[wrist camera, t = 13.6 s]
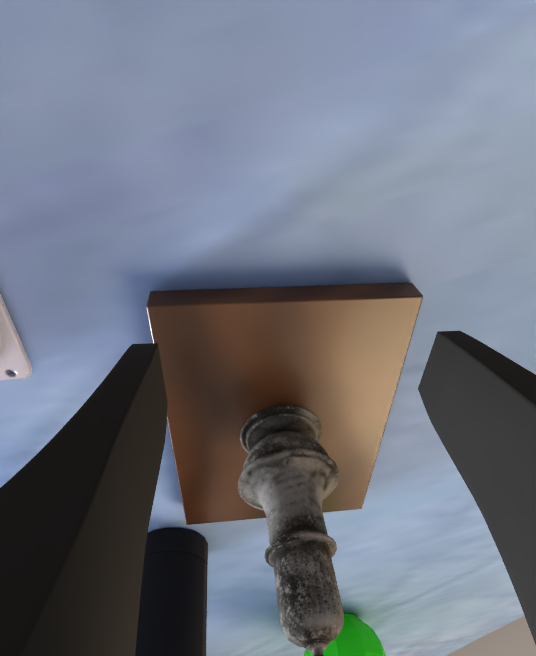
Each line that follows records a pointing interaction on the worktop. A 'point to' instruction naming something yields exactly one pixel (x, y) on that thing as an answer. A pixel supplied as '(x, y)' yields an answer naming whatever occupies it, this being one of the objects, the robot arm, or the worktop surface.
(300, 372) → the cutting board
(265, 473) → the grey stone baluster
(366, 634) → the plastic bottle
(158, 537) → the black bottle
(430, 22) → the worktop surface
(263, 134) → the worktop surface
